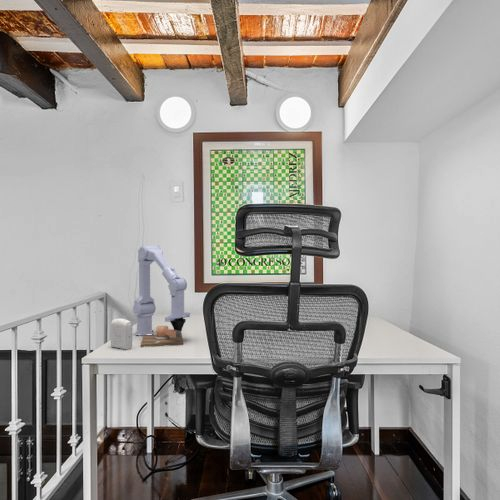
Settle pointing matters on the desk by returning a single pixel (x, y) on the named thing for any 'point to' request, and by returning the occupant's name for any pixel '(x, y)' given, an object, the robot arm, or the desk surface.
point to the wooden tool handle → (167, 332)
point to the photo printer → (121, 334)
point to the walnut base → (161, 340)
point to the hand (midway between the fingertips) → (177, 335)
